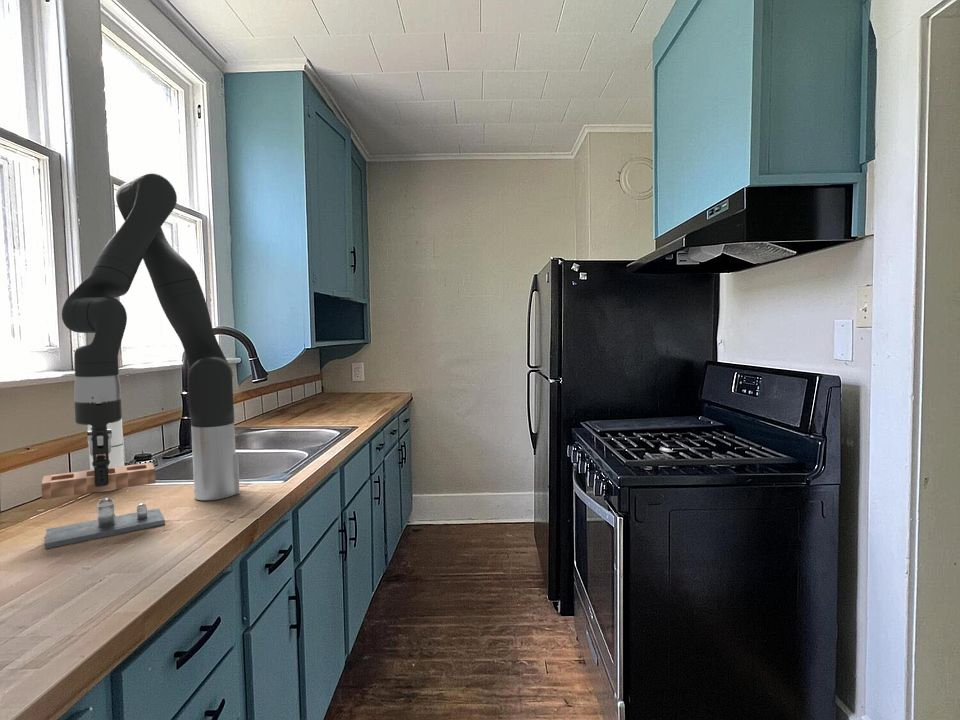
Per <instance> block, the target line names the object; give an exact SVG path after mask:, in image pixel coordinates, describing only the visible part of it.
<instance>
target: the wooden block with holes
mask: <svg viewBox="0 0 960 720" xmlns="http://www.w3.org/2000/svg"><path fill="white" fill-rule="evenodd" d="M108 477H109V484H108V485H106V486H100V487H96V486H95V476H94V470H90V469H88V470H81V471H72V472H66V473H65V472H64V473H58V474H57V473H56V474H50V475H49V474H48V475H43V477H42V482H41V500H50V499H55V498H63V497H68V496H75V495H84V494H91V493H98V492H99V491H101V492H106V491H105V490H110V491H113V490H112V489H115V490H118V489H125V488H132V487H133V488H134V487H139V486H147V485H153V484H156V482H157V481H156V468H155V466H154V463H153V462H145V463H137V464H129V465H124V466H120V467H112V468H108Z"/></svg>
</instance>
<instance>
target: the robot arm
mask: <svg viewBox="0 0 960 720" xmlns="http://www.w3.org/2000/svg"><path fill="white" fill-rule="evenodd" d="M115 199H116V205H117V207H118V210H119V212H120V214H121V216H122V218H123V220H124V222H123V223H122V225H121V226H120V227H119V228H118V230H117V231H116V232H115V233H114V234H113V236H111V238H110V239H109V240H108V241H107V243H106V244H105V246H103V248H102V250H101V251H100V253H99V255H98V257H97V259H96V261H95V263H94V265H93V267H92V269H91V272H90V274H89V276H87V277H86V278H85V279H84V280H83V281H81V283H80V284H79V285H78V286H77V287H76V288H75V289H74V290H73V291H72V293H71V294H70V295H68V297H67V298H66V300H65V302H64V304H63V305H62V309H61V318H62V319H61V320H62V323H63V324H64V326H65V327H66V329H68V330H69V331H71V332H74V333H77V334H78V333H80V334H90V333H91V334H94V337H93V339H92V342H91V343H89V344H86V345H82V346H79V347H78V348H76V349H75V351H74V362H73V363H74V376H75V377H74V384H73V397H74V419H75V423H76V424H77V425H80V426H88V425H91V426H92V428H91V430H92V431H90V432H88V431H87V433H86V434H87V443H88V449H89V448H90V456H91V457H92V458H93V462H92V466H93V468H94V476H95V486H96V487H100V486H106V485H108V484H109V477H108V466H109V464H110V460H109V455H110V454H111V440H112V432H111V430H107V427H106V426H107V424H108V423H114V422H117V421H120V420H121V419H122V420H123V417H122V416H123V415H122V414H123V411H122V391H121V390H122V388H121V387H122V386H121V381H120V373H119V352H120V348H121V345H122V341H123V338H124V333H125V330H126V327H127V322H128V316H127V315H128V313H127V311H126V308H125V306H124V304H123V303H122V302H121V301H120V300H119V299H117V298H118V297H122V296H125V295H126V294H127V293H128V292H129V290H130V288H131V286H132V284H133V282H134V280H135V277H136V275H137V272H138V270H139V267H140V266H141V263H142V261H143V262H144V266H145V267H146V270H147V272H148V274H149V277H150V279H151V282H152V285H153V289H154V291H155V294H156V296H157V299H158V302H159V304H160V307H161V309H162V310H163V313H164V315H165V317H166V318H167V320H168V322H169V324H170V325H171V327H172V328H173V330H174V332H175V333H176V334H177V337H178V338H179V340H180V342H181V344H182V347H183V350H184V353H185V356H186V359H187V363H188V368H189V370H188V373H187V395H188V407H189V408H188V409H189V415H190V425H191V427H190V428H191V429H190V432H191V433H190V434H191V449H192V450H191V451H192V452H191V453H192V469H193V470H192V471H193V474H192V475H193V491H194V494H193V496H194V499H195V500H198V501H216V500H222V499H226V498H229V497H232V496H235V495H239V494H240V492H241V491H240V474H239V473H240V470H239V455H238V454H237V453H236V451H237V450H236V435H235V434H236V431H235V428H236V427H235V408H234V393H233V392H234V387H233V373H234V372H233V370H232V367H231V365H230V363H229V362H228V360H227V358H226V357H225V355H224V352H223V351H222V348H221V346H220V343H219V342H218V341H217V340H218V339H217V337H216V336H215V333H214V330H213V325H212V320H211V316H210V311H209V309H208V304H207V301H206V298H205V294H204V291H203V289H202V286H201V283H200V280H199V279H198V276H197V274H196V272H195V269H194V268H193V267H192V266H191V265H190V264H189V263H188V261H186V259H184V258H183V257H182V256H181V255H180V254H179V253H178V252H177V251H176V250H175V249H174V248H173V247H172V245H171V244H170V243H169V241H168V240H167V238H166V236H165V233H164V230H163V228H162V226H163V225H164V223H165V222H166V220H167V219H168V218H169V216H170V215H171V213H172V212H173V211H174V210H175V208H176V206H177V200H178V197H177V192H176V190H175V186H173V184H172V183H171V181H169V180H168V179H167V178H165V177H164V176H163V175H160V174H158V173H153V172H149V173H144V174H141V175H139V176H136V177H134V178H132V179H130V180H129V181H127V182H124V183H122V184H121V185H120V186H118V188H117V190H116V192H115ZM105 458H106V459H105Z"/></svg>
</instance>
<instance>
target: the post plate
mask: <svg viewBox="0 0 960 720" xmlns="http://www.w3.org/2000/svg"><path fill="white" fill-rule="evenodd" d="M96 509H97V519H94V520H90V521H89V520H88V521H83V522H77V523H74V524H73V523H72V524H68V525H67V524H66V525H63V526H57V527H51V528H47V529H46V531H45V533H46V534H45V543H44V548H45V549H52V548H57V547H62V546H66V545H70V544H76V543H80V542H87V541H91V540H95V539H101V538H105V537H111V536H115V535H121V534H125V533H130V532H136V531H140V530H144V529H149V528H154V527H159V526H164V525H166V519H165V517H164V515H163V514H162V512H161V510H160V508H153V509H148V507H147V504H145V503H139V504H138V505H137V506H136V511H135V512H131V513H126V514H121V515H116V511H115V500H113V499H112V498H111V497H102V498H101V499H99V501H98V502H97V504H96Z"/></svg>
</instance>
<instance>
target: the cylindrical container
mask: <svg viewBox="0 0 960 720" xmlns="http://www.w3.org/2000/svg"><path fill="white" fill-rule="evenodd" d="M106 427H107V430H111V432H112V440H111V454H110V455H109V460H110V464H109V466H108V468H112V467H120V466H125V450H124V434H123V433H124V432H123V418H122V419H121V420H120V421H117V422H114V423H108V424H107V426H106ZM91 428H92V426H91V425H87V432H90V431H92V430H91ZM88 455H89V468H90V469H89V470H94V468H93V466H92V462H93V458H92V457H91V456H90V448H89V447H88ZM105 459H106V458H105ZM114 490H116V489H112V490H105V491H104V492H109V491H114ZM99 492H102V491H99Z"/></svg>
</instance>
